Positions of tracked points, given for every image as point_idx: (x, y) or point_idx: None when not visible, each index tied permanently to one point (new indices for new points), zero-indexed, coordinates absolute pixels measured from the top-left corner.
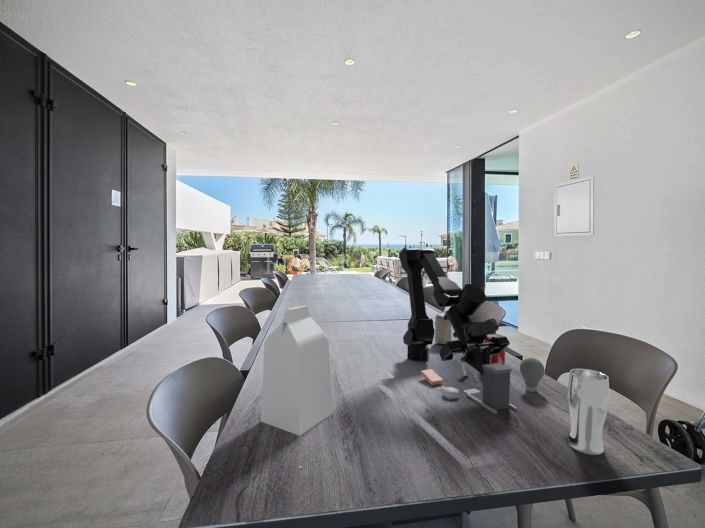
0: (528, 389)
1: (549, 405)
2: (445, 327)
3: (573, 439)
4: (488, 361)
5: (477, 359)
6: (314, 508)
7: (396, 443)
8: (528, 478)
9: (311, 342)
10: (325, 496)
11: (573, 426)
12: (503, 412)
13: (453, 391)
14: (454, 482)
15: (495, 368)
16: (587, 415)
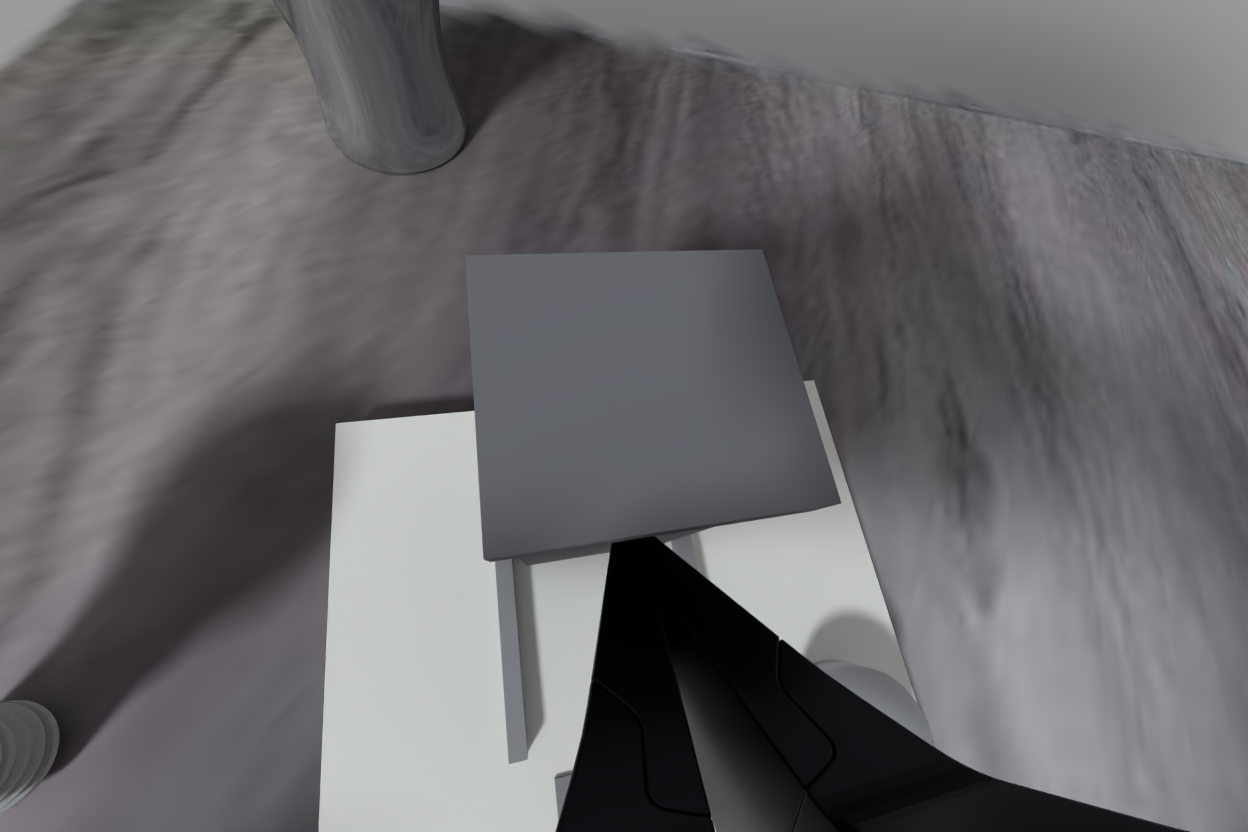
0: (9, 750)
1: (103, 500)
2: None
3: (455, 100)
4: (627, 712)
5: (897, 734)
6: (1237, 171)
7: (1110, 338)
8: (744, 90)
9: None
10: (1231, 193)
11: (438, 43)
12: None
13: None
14: (948, 140)
15: (709, 321)
16: None
